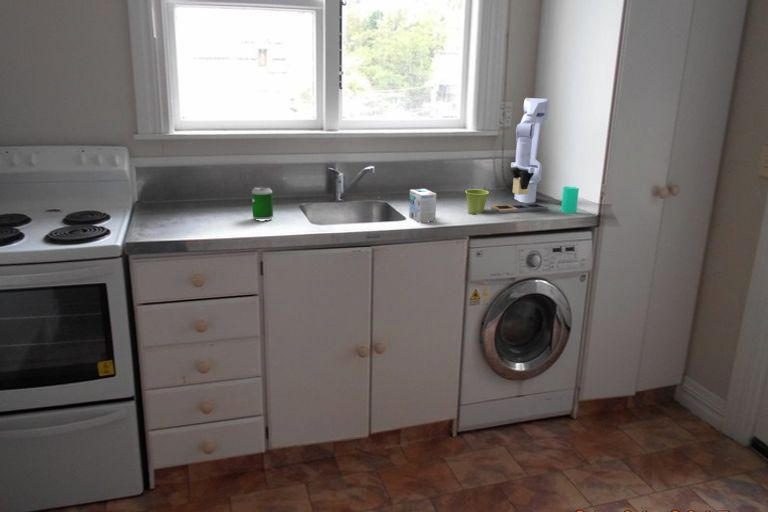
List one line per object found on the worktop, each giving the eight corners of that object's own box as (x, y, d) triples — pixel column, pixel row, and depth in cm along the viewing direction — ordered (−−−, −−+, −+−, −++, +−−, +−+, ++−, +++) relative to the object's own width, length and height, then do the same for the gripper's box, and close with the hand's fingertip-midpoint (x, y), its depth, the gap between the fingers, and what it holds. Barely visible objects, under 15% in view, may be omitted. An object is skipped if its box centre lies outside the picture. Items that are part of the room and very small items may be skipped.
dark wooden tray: (490, 211, 267) (491, 205, 266) (537, 208, 274) (538, 202, 273) (499, 215, 260) (499, 209, 260) (547, 211, 268) (547, 206, 267)
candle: (576, 215, 262) (579, 185, 259) (561, 214, 264) (563, 184, 260) (575, 212, 268) (578, 182, 265) (560, 211, 269) (563, 182, 266)
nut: (512, 192, 266) (513, 177, 264) (522, 192, 268) (523, 176, 266) (518, 194, 262) (519, 178, 260) (528, 194, 264) (529, 178, 262)
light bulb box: (408, 216, 256) (409, 189, 253) (424, 215, 259) (425, 188, 256) (419, 223, 247) (420, 194, 244) (436, 221, 249) (437, 193, 246)
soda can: (276, 218, 250) (275, 187, 247) (267, 222, 244) (266, 190, 240) (259, 216, 253) (258, 185, 249) (249, 220, 246) (247, 189, 242)
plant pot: (490, 211, 266) (491, 190, 264) (483, 216, 258) (485, 194, 256) (468, 209, 270) (469, 188, 268) (460, 214, 262) (461, 192, 259)
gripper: (505, 151, 266) (503, 185, 270) (524, 157, 253) (521, 191, 257) (520, 151, 268) (518, 184, 272) (540, 156, 255) (537, 190, 259)
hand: (520, 187), depth 264 cm, fingers closed on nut, 4 cm apart
